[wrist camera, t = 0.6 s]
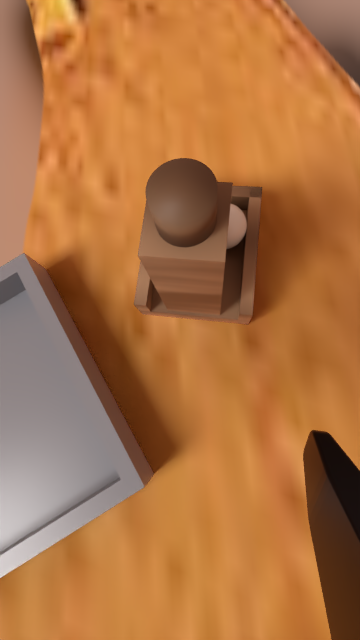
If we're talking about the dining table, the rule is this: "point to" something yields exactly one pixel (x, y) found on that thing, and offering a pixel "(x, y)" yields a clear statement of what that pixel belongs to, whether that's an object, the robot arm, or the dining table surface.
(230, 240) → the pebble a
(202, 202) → the brown wooden box
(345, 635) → the robot arm
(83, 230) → the dining table surface
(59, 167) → the dining table surface
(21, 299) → the bin
